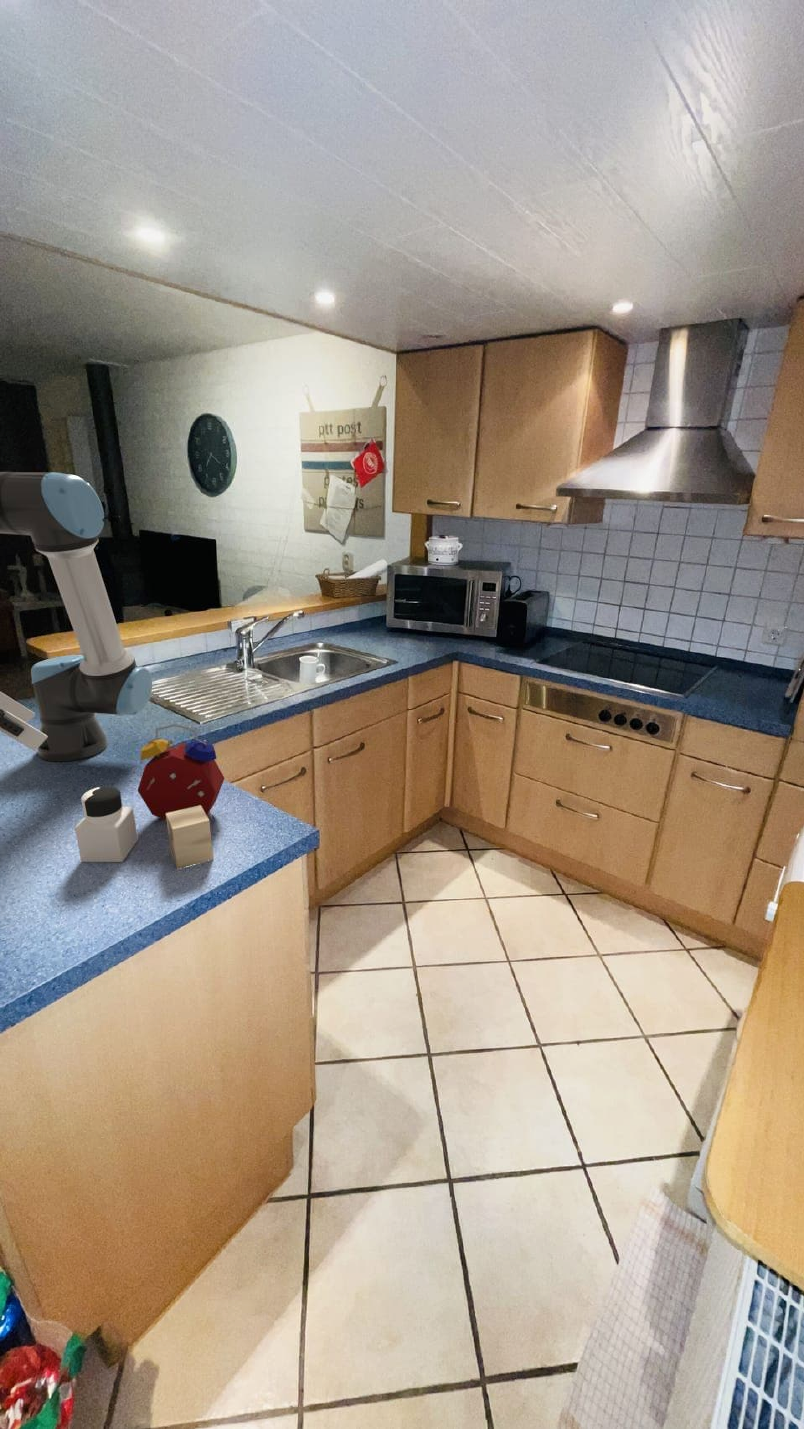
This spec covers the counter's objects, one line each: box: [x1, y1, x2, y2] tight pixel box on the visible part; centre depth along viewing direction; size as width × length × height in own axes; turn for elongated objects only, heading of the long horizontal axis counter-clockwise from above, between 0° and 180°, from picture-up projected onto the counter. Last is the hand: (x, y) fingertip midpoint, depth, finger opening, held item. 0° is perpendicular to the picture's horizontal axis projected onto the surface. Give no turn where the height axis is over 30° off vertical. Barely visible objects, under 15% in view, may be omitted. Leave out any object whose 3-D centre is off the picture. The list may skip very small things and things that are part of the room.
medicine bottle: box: [74, 786, 138, 863], centre depth 103 cm, size 7×7×12 cm
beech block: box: [165, 805, 214, 870], centre depth 103 cm, size 6×6×8 cm
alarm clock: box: [137, 723, 225, 821], centre depth 112 cm, size 15×9×20 cm, turn 90°
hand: (35, 731), depth 93 cm, fingers open, 13 cm apart
